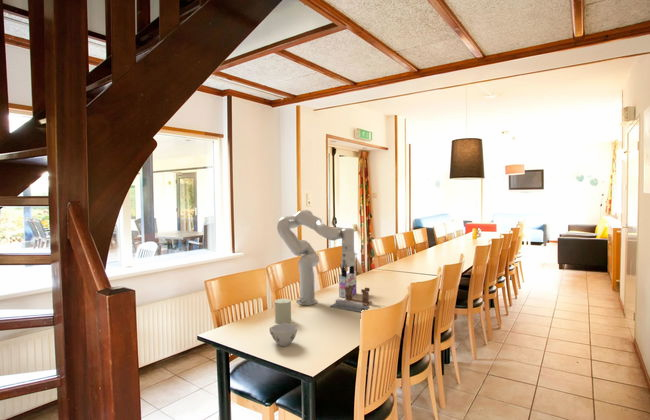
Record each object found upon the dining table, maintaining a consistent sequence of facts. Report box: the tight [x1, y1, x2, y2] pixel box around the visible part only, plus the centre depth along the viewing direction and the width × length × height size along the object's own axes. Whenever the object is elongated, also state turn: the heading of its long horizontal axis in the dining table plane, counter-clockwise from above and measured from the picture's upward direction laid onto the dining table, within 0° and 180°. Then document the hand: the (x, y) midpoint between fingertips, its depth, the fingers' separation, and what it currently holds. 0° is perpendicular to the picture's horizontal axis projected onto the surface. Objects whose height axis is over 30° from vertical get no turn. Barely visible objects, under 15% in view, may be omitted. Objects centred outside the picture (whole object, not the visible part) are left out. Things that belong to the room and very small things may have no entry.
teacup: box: [269, 323, 298, 347], centre depth 172 cm, size 15×12×8 cm
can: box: [274, 298, 292, 325], centre depth 203 cm, size 9×9×12 cm
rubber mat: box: [329, 302, 370, 314], centre depth 226 cm, size 11×22×1 cm, turn 57°
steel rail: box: [335, 298, 363, 309], centre depth 226 cm, size 3×18×3 cm, turn 57°
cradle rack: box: [344, 285, 373, 307], centre depth 235 cm, size 8×17×10 cm, turn 57°
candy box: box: [338, 270, 357, 299], centre depth 252 cm, size 14×6×16 cm, turn 143°
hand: (348, 275), depth 225 cm, fingers open, 9 cm apart
